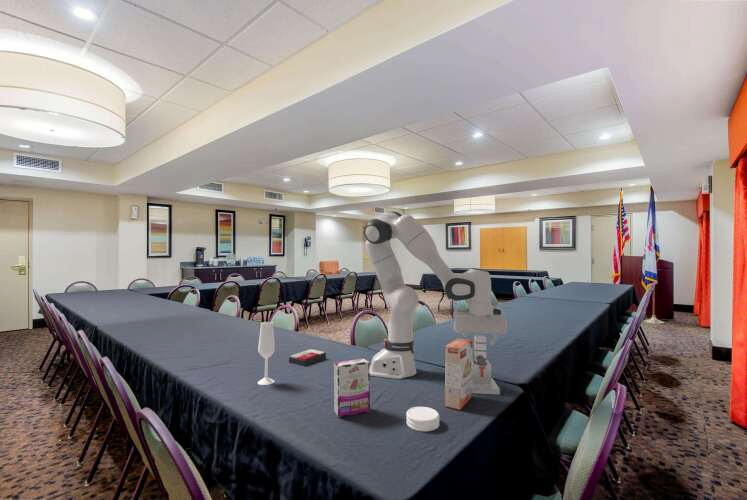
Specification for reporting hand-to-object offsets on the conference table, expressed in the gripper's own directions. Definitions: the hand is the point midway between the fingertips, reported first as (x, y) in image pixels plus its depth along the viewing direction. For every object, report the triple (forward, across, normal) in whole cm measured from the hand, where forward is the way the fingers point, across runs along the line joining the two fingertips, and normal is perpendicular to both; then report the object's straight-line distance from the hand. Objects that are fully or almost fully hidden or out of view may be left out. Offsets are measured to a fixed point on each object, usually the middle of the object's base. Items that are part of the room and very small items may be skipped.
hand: (480, 344), depth 135 cm
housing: (+17, 0, 0) cm, 17 cm away
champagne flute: (+16, -86, -5) cm, 88 cm away
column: (+17, 0, 0) cm, 17 cm away
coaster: (+17, -23, -33) cm, 44 cm away
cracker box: (+17, -10, -15) cm, 25 cm away
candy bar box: (+17, -46, -28) cm, 57 cm away
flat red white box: (+17, -79, +27) cm, 85 cm away
